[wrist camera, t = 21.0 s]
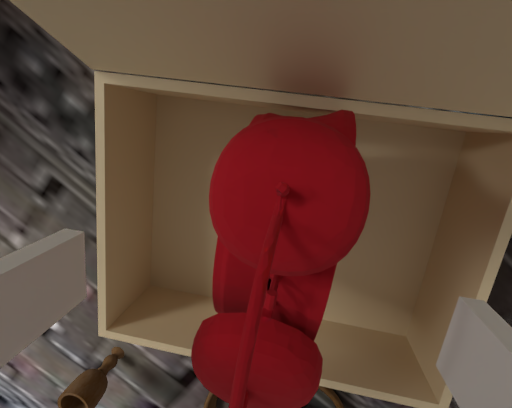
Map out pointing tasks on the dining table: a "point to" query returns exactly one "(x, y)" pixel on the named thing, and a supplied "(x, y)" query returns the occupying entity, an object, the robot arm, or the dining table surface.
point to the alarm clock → (278, 254)
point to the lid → (302, 45)
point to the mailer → (347, 270)
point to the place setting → (95, 383)
